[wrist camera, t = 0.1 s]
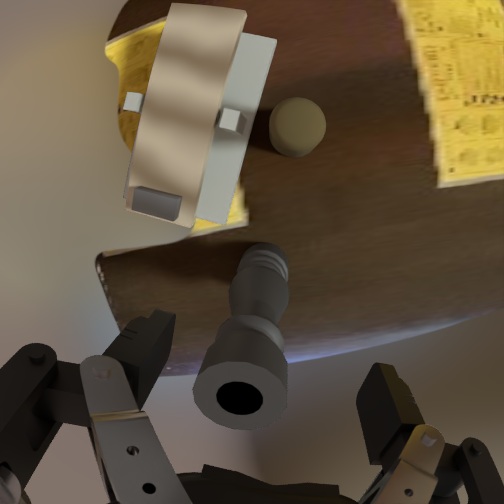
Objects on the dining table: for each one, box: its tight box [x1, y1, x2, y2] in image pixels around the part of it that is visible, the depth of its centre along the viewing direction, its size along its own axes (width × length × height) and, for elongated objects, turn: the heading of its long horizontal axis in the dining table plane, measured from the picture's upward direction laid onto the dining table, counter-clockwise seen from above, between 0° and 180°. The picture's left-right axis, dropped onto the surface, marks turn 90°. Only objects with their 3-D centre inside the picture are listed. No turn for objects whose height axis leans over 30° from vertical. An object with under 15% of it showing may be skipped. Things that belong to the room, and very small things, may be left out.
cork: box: [269, 97, 326, 158], centre depth 31 cm, size 6×6×11 cm
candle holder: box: [192, 243, 289, 430], centre depth 30 cm, size 6×6×25 cm
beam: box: [126, 3, 247, 228], centre depth 30 cm, size 24×8×4 cm, turn 165°
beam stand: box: [123, 33, 277, 225], centre depth 34 cm, size 24×14×8 cm, turn 165°
